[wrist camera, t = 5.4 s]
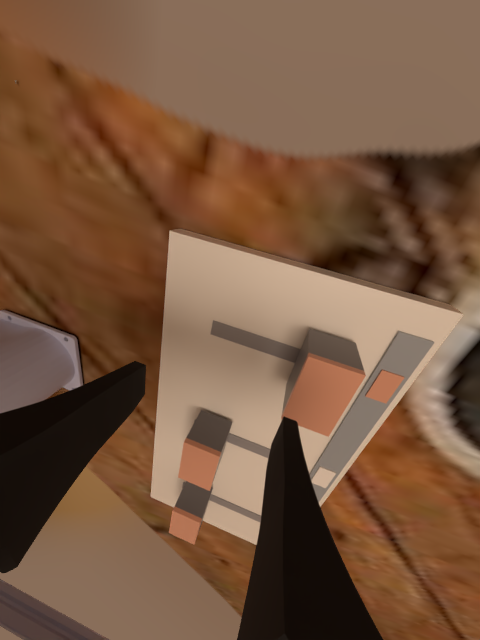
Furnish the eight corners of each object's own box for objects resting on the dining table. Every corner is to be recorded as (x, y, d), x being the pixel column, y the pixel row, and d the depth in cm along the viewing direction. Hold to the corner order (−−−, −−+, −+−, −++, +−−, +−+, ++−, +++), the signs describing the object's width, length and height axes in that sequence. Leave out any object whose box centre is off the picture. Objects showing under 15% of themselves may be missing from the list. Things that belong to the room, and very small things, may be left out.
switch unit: (157, 485, 33) (149, 499, 32) (180, 228, 17) (167, 231, 16) (284, 542, 31) (282, 560, 29) (450, 304, 15) (466, 316, 13)
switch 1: (183, 499, 29) (169, 532, 27) (187, 477, 27) (172, 510, 24) (206, 509, 29) (194, 544, 26) (212, 487, 27) (200, 523, 24)
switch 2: (286, 384, 18) (281, 419, 15) (309, 327, 16) (308, 356, 13) (326, 398, 18) (328, 437, 15) (355, 342, 15) (365, 375, 13)
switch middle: (194, 443, 24) (178, 477, 21) (201, 409, 22) (183, 442, 19) (222, 455, 24) (209, 491, 21) (232, 421, 22) (219, 456, 19)
